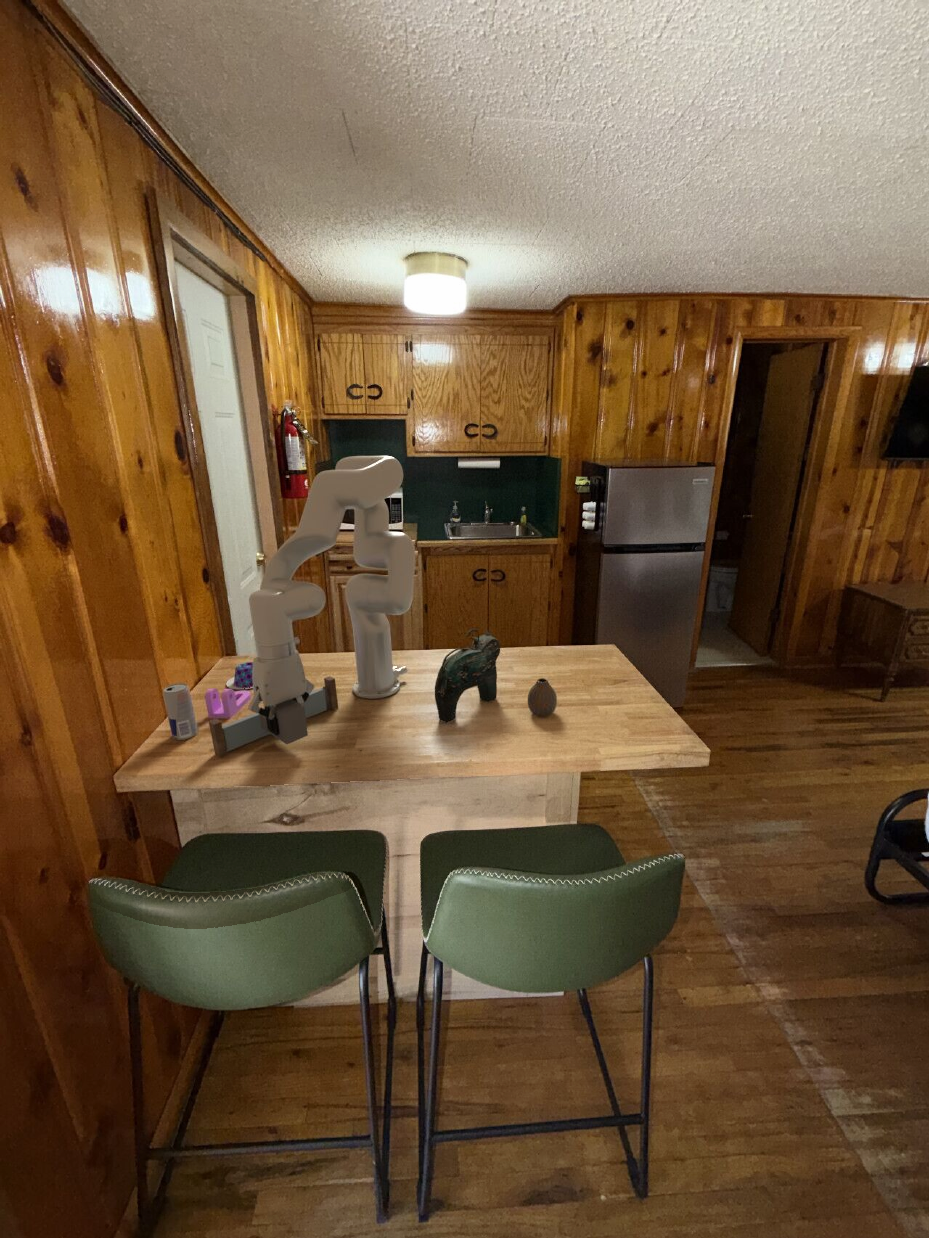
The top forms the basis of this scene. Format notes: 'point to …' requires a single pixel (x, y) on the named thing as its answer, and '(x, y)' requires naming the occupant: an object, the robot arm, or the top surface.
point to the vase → (542, 698)
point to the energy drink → (180, 711)
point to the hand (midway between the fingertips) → (286, 727)
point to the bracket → (225, 702)
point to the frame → (217, 726)
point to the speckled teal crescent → (467, 674)
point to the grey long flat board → (251, 725)
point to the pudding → (242, 676)
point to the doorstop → (289, 721)
